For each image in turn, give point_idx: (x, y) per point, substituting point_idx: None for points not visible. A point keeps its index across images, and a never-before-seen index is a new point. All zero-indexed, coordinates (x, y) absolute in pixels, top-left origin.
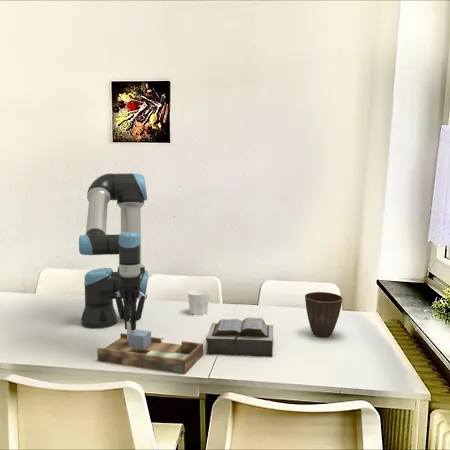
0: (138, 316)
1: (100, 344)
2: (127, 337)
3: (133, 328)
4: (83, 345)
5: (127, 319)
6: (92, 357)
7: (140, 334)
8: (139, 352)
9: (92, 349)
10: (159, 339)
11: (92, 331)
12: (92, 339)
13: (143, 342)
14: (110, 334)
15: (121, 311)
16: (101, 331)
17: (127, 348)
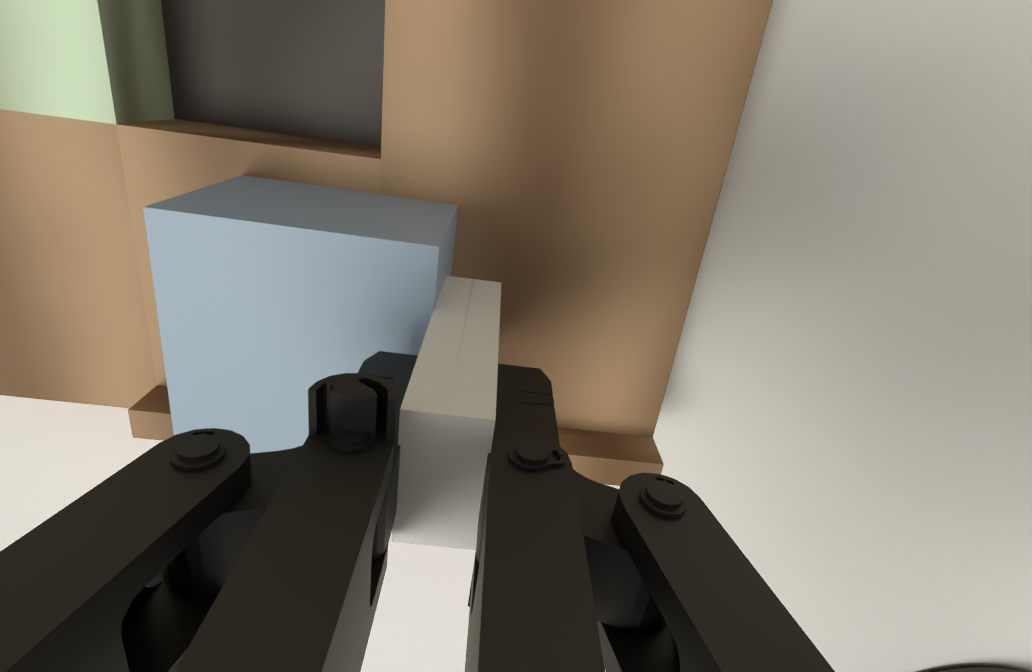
0: (61, 512)
1: (836, 382)
2: (491, 290)
3: (375, 369)
4: (1005, 327)
5: (487, 479)
6: (849, 8)
7: (245, 289)
8: (298, 142)
9: (893, 246)
10: (140, 408)
11: (963, 618)
12: (936, 474)
13: (200, 190)
14: (796, 592)
15: (705, 668)
16: (886, 630)
17: (442, 133)
